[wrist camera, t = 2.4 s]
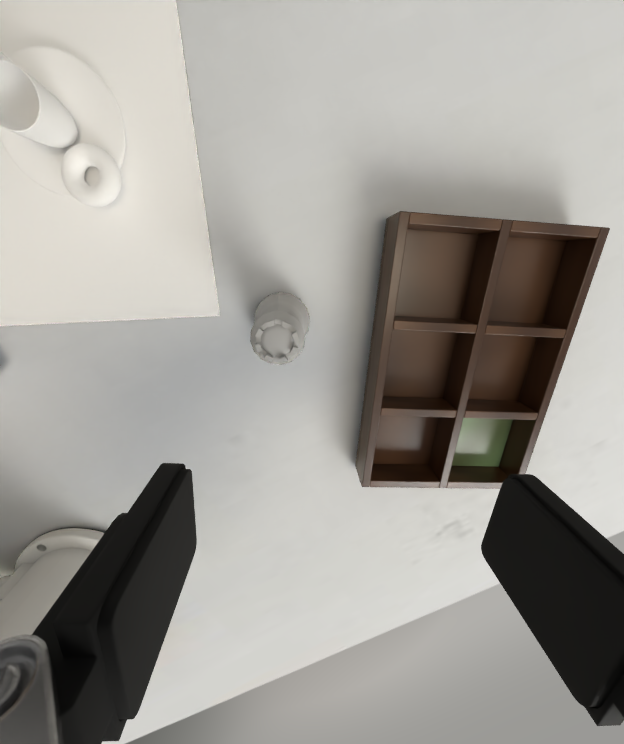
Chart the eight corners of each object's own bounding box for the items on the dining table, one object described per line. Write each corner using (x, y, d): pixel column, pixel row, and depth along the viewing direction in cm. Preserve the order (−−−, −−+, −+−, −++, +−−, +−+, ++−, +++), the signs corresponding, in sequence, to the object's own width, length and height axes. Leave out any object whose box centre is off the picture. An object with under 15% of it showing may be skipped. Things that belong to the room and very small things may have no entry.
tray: (355, 465, 30) (361, 487, 27) (386, 218, 23) (399, 210, 20) (498, 468, 31) (520, 489, 28) (571, 232, 24) (610, 227, 21)
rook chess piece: (250, 294, 24) (230, 306, 16) (306, 288, 24) (312, 298, 16) (259, 348, 25) (244, 383, 18) (312, 343, 25) (319, 375, 18)
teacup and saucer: (144, 209, 21) (110, 196, 18) (28, 213, 21) (-31, 201, 17) (112, 50, 19) (64, -7, 15) (-22, 52, 18) (-107, -6, 14)
